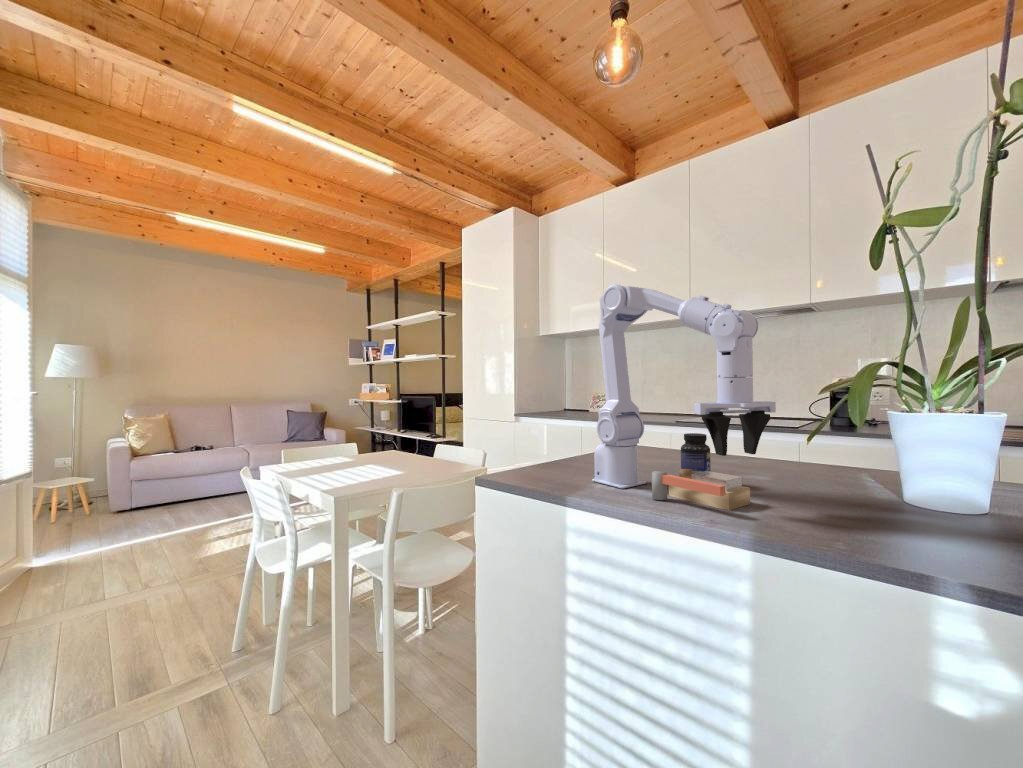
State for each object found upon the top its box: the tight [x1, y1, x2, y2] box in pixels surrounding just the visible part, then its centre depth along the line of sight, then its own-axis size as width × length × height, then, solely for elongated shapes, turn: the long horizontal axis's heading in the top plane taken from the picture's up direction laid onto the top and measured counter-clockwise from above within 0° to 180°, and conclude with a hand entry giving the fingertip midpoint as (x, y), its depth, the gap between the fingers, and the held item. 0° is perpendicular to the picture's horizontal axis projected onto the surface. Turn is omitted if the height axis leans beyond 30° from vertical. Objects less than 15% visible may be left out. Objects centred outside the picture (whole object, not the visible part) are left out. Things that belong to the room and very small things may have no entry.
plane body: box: [668, 468, 751, 511], centre depth 85 cm, size 12×7×5 cm, turn 33°
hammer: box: [651, 470, 726, 501], centre depth 81 cm, size 14×3×5 cm, turn 33°
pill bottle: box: [680, 432, 712, 474], centre depth 98 cm, size 6×6×11 cm
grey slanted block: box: [692, 470, 743, 492], centre depth 83 cm, size 7×5×2 cm
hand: (735, 454), depth 78 cm, fingers open, 5 cm apart
